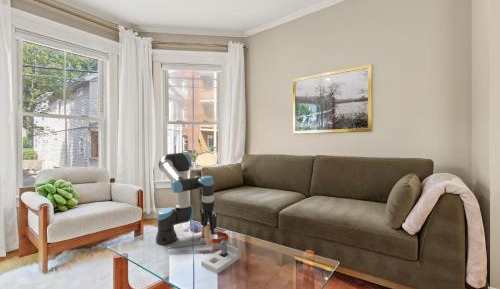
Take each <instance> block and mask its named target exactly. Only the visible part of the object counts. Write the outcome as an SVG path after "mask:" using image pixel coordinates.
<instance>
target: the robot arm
mask: <svg viewBox="0 0 500 289" xmlns="http://www.w3.org/2000/svg"><path fill="white" fill-rule="evenodd" d="M192 165H193V161H192V158H191V155H190V153H188V152H176V153H166V154H164V155H163V156H161V158H160V159H159V161H158V169H159V170H160V171H161V172H162V173H164V174H165V176H166V177H167V179H169V181H170V182H171V184H170V188H171V192H172V193H174V194H175V193H176V205H174V206H175V207H174V208H173V207H163V208H162V209H160V210H159V211H158V212H157V213H156V216H157V218H156V219H157V220H156V222H157V232H156V233H157V234H156V237H155V243H156V244H158V245H163V246H164V245H169V244H170V245H171V244H173V243H175V241H177V239H178V238H177V237H178V235H177V233H176V230H175V226H176V225H181V224H185V223H188V222H191V221H193V219H194V216H195V210H194V207H193V206H192V205H191V203H190V201H189V200H190V199H189V192H190V191H195V190H201V208H202V209H199V213H200V225H201V226H202V227H203V231H204V232H203V233H204V238H205V239H206V228H205V226H206V225H208V224H210V229H209V235H210V240H211V239H215V238H214V235H215V229H217V216H218V213H217V212H215V211H214V208H215V191H214V190H215V189H214V188H215V187H214V186H215V185H214V184H215V183H214V182H215V181H214V177H213V176H212V175H203V176H201V175H196V176H194V177H191V178H188V173H189V171H190V168H191V167H192ZM208 222H209V223H208Z"/></svg>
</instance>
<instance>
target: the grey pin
mask: <svg viewBox="0 0 500 289" xmlns="http://www.w3.org/2000/svg"><path fill="white" fill-rule="evenodd" d="M221 256H222V257H226V256H227V240H221Z"/></svg>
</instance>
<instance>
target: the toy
mask: <svg viewBox="0 0 500 289" xmlns="http://www.w3.org/2000/svg"><path fill="white" fill-rule="evenodd" d="M216 235H217V238H213V239H212V243H213V244H212V251H219V250H221V240H227V244H228V245H229V238H230V237H229V235H228V233H227V232H223V231H216Z"/></svg>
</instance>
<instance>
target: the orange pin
mask: <svg viewBox="0 0 500 289" xmlns="http://www.w3.org/2000/svg"><path fill="white" fill-rule="evenodd" d="M207 224H208V225H206V226H205V228H206V238H205V246H208V247H210V246H213V243H212V239H211V240H210V235H209V229H210V224H209V223H207Z"/></svg>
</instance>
